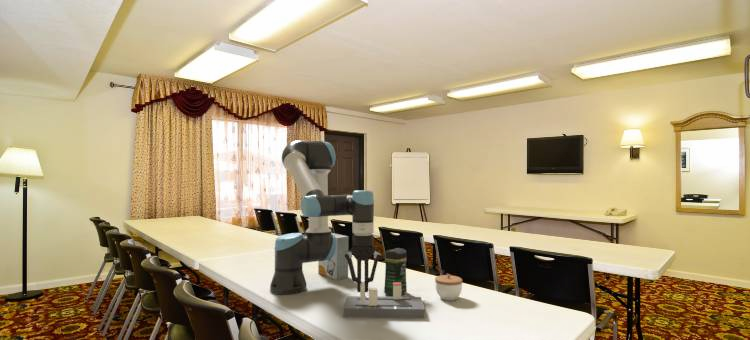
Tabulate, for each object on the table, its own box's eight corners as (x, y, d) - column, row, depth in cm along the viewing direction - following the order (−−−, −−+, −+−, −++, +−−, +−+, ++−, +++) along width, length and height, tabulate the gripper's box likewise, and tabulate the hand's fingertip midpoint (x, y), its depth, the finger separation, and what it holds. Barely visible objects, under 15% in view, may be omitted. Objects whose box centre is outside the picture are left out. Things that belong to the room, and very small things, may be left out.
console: (342, 317, 125) (342, 308, 125) (346, 303, 139) (347, 295, 139) (424, 318, 125) (424, 309, 125) (420, 304, 138) (420, 296, 138)
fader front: (368, 305, 127) (368, 289, 127) (368, 303, 130) (369, 287, 130) (377, 305, 127) (377, 289, 127) (377, 303, 130) (377, 287, 130)
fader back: (393, 299, 134) (393, 284, 134) (393, 297, 136) (393, 282, 136) (401, 299, 134) (401, 284, 134) (401, 297, 136) (401, 282, 136)
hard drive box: (317, 273, 182) (317, 233, 183) (330, 271, 188) (330, 232, 188) (336, 280, 171) (336, 237, 171) (349, 277, 176) (349, 235, 177)
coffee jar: (397, 298, 145) (398, 251, 146) (381, 294, 150) (381, 249, 150) (409, 292, 153) (409, 247, 154) (393, 288, 158) (393, 245, 158)
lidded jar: (429, 298, 146) (429, 274, 146) (444, 292, 154) (444, 269, 154) (453, 304, 138) (453, 279, 139) (467, 297, 146) (467, 274, 146)
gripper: (343, 235, 125) (343, 304, 125) (381, 235, 125) (381, 305, 124) (345, 232, 133) (345, 297, 132) (381, 232, 132) (381, 298, 132)
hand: (362, 301), depth 128 cm, fingers closed
